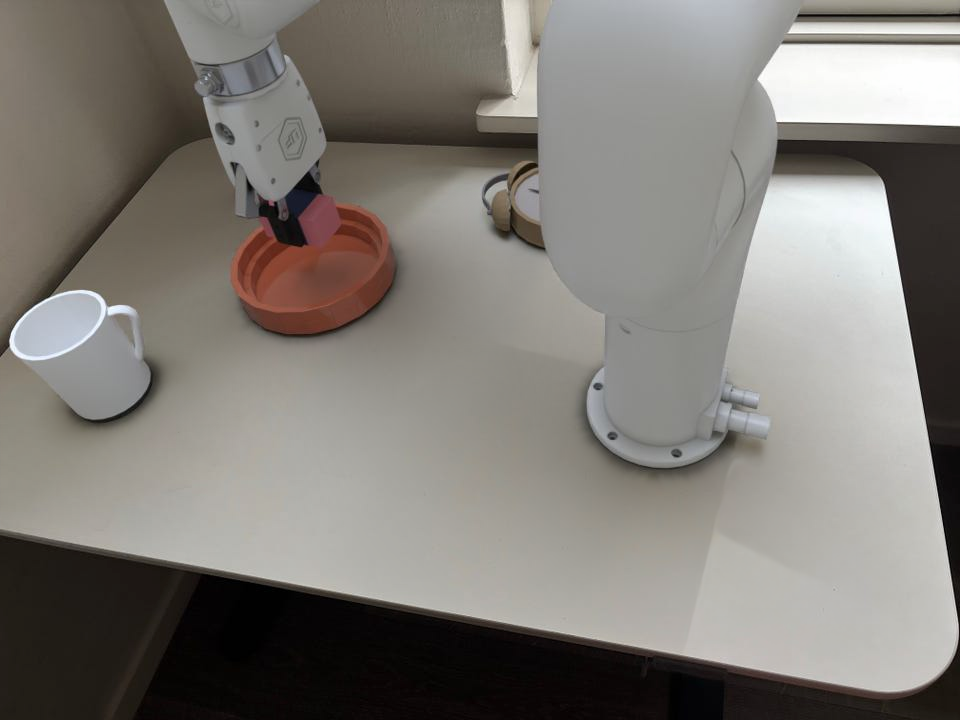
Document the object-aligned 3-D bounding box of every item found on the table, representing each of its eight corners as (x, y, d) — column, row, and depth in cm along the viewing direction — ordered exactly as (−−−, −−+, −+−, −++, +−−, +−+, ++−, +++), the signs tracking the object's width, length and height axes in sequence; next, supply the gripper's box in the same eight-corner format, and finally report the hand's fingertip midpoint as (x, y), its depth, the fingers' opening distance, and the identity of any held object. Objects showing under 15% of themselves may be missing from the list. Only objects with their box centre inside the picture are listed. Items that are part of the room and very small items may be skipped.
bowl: (422, 243, 83) (415, 216, 80) (347, 353, 74) (336, 327, 70) (297, 219, 89) (287, 193, 86) (213, 318, 80) (198, 292, 77)
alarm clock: (594, 239, 76) (464, 196, 79) (586, 271, 80) (464, 229, 83) (625, 176, 82) (504, 139, 85) (616, 209, 86) (501, 172, 89)
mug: (72, 439, 71) (7, 374, 63) (71, 376, 76) (11, 310, 69) (181, 398, 72) (130, 330, 65) (172, 340, 78) (125, 271, 70)
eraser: (342, 224, 76) (332, 195, 73) (322, 249, 73) (311, 220, 71) (287, 212, 78) (276, 185, 75) (266, 237, 76) (254, 209, 73)
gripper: (216, 122, 56) (291, 290, 70) (326, 20, 65) (372, 186, 79) (143, 111, 58) (229, 275, 72) (259, 14, 67) (315, 176, 81)
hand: (303, 227), depth 75 cm, fingers closed on eraser, 4 cm apart
